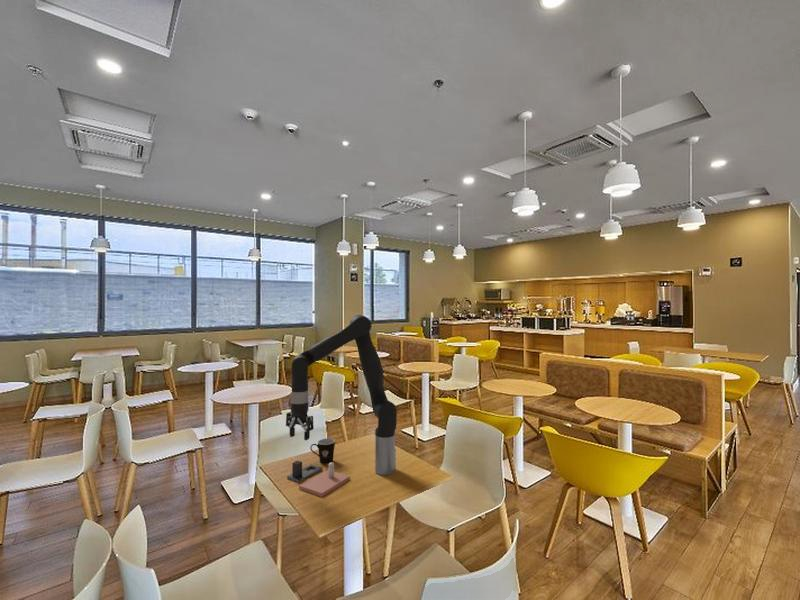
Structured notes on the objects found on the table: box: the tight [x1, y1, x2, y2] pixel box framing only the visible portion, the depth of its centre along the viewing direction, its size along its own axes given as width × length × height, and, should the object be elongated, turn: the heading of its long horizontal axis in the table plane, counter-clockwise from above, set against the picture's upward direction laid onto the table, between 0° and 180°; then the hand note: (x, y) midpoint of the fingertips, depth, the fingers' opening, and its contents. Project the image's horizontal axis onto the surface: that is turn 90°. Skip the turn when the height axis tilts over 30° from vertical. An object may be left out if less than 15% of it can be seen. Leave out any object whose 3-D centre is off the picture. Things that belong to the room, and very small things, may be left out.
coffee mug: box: [309, 438, 336, 465], centre depth 186 cm, size 12×9×10 cm
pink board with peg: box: [298, 462, 351, 498], centre depth 162 cm, size 18×13×8 cm
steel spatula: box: [286, 460, 323, 483], centre depth 171 cm, size 15×7×7 cm, turn 149°
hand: (299, 438), depth 162 cm, fingers open, 8 cm apart
